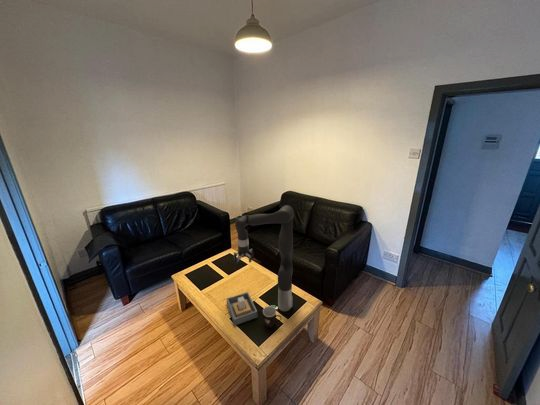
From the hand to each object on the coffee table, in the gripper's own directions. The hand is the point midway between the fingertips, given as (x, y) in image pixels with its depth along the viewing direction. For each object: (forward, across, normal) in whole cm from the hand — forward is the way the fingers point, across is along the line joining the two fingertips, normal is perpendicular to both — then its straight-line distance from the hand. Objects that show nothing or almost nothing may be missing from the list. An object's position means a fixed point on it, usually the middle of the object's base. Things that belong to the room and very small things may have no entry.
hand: (244, 263), depth 157 cm
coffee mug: (+28, -7, +32) cm, 43 cm away
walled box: (+28, +7, +13) cm, 32 cm away
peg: (+27, +7, +13) cm, 31 cm away
